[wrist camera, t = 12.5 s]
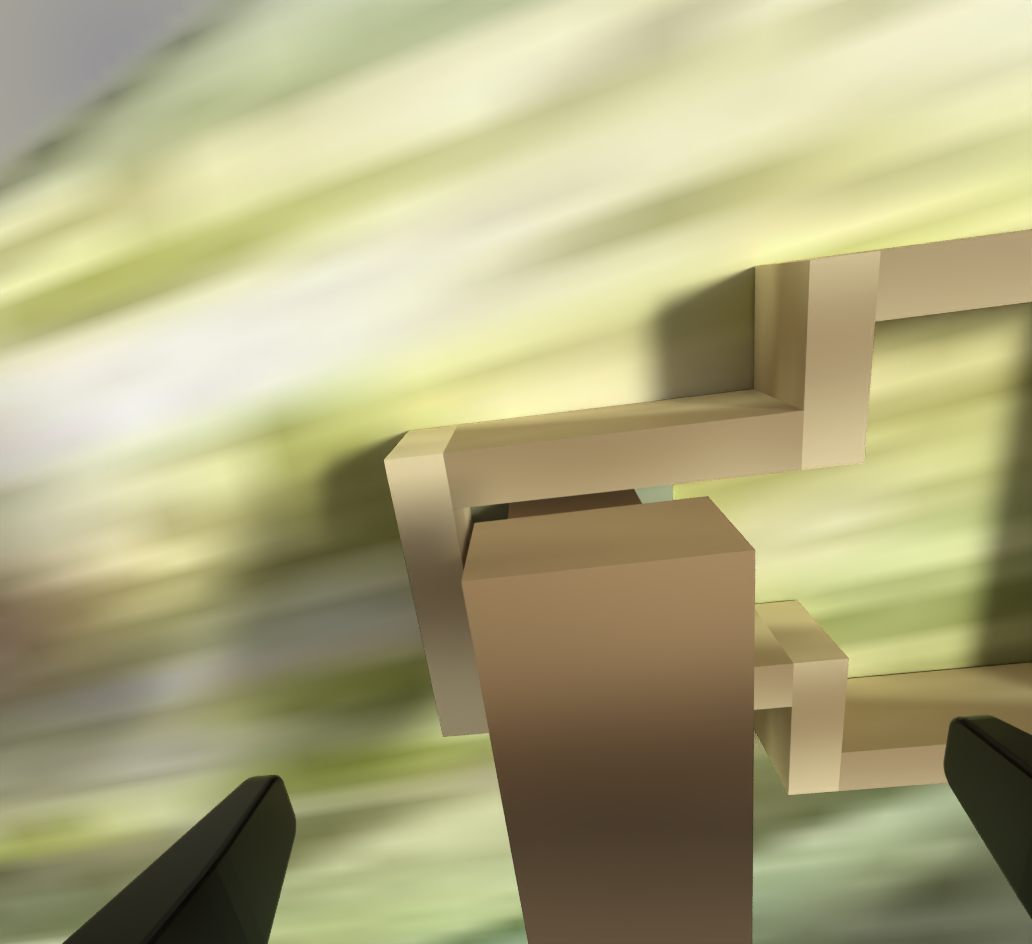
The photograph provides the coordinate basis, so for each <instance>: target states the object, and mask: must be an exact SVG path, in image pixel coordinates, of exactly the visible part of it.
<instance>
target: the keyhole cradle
mask: <svg viewBox="0 0 1032 944" xmlns="http://www.w3.org/2000/svg"><path fill="white" fill-rule="evenodd" d="M1026 302H1032V229H1028V230H1021V231H1013V232H1006V233H998V234H991V235H984V236H976V237H969V238H961V239H954V240H946V241H939V242H931V243H924V244H917V245H909V246H902V247H894V248H887V249H879V250H872V251H864V252H857V253H849V254H842V255H835V256H827V257H820V258H812V259H805V260H797V261H790V262H782V263H775V264H768V265H760V266H755V331H754V389H751V390H743V391H734V392H726V393H718V394H709V395H701V396H693V397H685V398H676V399H668V400H660V401H652V402H643V403H635V404H627V405H619V406H610V407H602V408H594V409H586V410H577V411H569V412H561V413H553V414H544V415H536V416H528V417H520V418H511V419H503V420H495V421H486V422H478V423H470V424H462V425H453V426H445V427H437V428H429V429H420V430H412V431H408V432H407V434H406V435H405V436H404V437H403V438H402V439H401V441H400V442H399V443H398V444H397V445H396V446H395V448H394V449H393V450H392V451H391V452H390V454H389V455H388V456H387V457H386V458H385V459H384V464H385V469H386V473H387V478H388V483H389V487H390V492H391V497H392V501H393V506H394V511H395V515H396V520H397V525H398V529H399V534H400V539H401V543H402V548H403V553H404V557H405V562H406V567H407V571H408V576H409V581H410V585H411V590H412V595H413V599H414V604H415V609H416V613H417V618H418V623H419V627H420V632H421V637H422V641H423V646H424V651H425V655H426V660H427V665H428V669H429V674H430V679H431V683H432V688H433V693H434V697H435V702H436V707H437V711H438V716H439V721H440V725H441V730H442V735H443V737H447V736H459V735H470V734H482V733H489V729H488V724H487V718H486V713H485V707H484V702H483V697H482V691H481V686H480V680H479V675H478V670H477V664H476V659H475V653H474V648H473V643H472V637H471V632H470V626H469V621H468V616H467V610H466V605H465V599H464V594H463V589H462V583H461V580H462V576H463V571H464V567H465V563H466V558H467V554H468V549H469V545H470V541H471V536H472V532H473V528H474V523H478V522H487V521H496V520H505V519H508V510H509V503H511V502H520V501H529V500H538V499H547V498H556V497H565V496H574V495H583V494H592V493H600V492H609V491H618V490H627V489H635V491H636V493H637V495H638V497H639V499H640V501H641V502H642V504H645V503H654V502H662V501H671V500H673V484H681V483H690V482H699V481H708V480H717V479H726V478H735V477H743V476H752V475H761V474H770V473H779V472H788V471H797V470H806V469H815V468H824V467H833V466H842V465H851V464H860V463H864V458H865V445H866V432H867V419H868V406H869V394H870V381H871V368H872V355H873V343H874V330H875V322H876V321H884V320H892V319H899V318H907V317H915V316H923V315H931V314H939V313H947V312H955V311H963V310H971V309H978V308H986V307H994V306H1002V305H1010V304H1018V303H1026ZM848 662H849V658H848V657H847V656H846V655H845V654H844V652H843V651H842V650H841V649H840V648H839V647H838V646H837V644H836V643H835V642H834V641H833V640H832V639H831V638H830V636H829V635H828V634H827V633H826V632H825V631H824V630H823V628H822V627H821V626H820V625H819V624H818V623H817V622H816V620H815V619H814V618H813V617H812V616H811V615H810V614H809V612H808V611H807V610H806V609H805V608H804V607H803V606H802V604H801V603H800V602H799V601H798V600H793V601H783V602H773V603H763V604H755V636H754V729H755V731H756V733H757V735H758V737H759V739H760V741H761V743H762V745H763V747H764V749H765V751H766V752H767V754H768V756H769V758H770V760H771V762H772V764H773V766H774V768H775V770H776V772H777V774H778V776H779V778H780V779H781V781H782V783H783V785H784V787H785V789H786V791H787V793H788V795H792V794H805V793H818V792H831V791H844V790H857V789H870V788H883V787H896V786H909V785H922V784H934V783H947V782H948V781H947V779H946V776H945V773H944V767H943V761H944V755H945V748H946V742H947V735H948V729H949V724H950V722H951V720H952V719H953V718H954V717H957V716H965V715H977V714H987V715H991V716H994V717H996V718H999V719H1001V720H1003V721H1005V722H1007V723H1009V724H1011V725H1013V726H1015V727H1017V728H1019V729H1021V730H1023V731H1025V732H1027V733H1029V734H1031V735H1032V662H1030V663H1019V664H1008V665H997V666H986V667H974V668H963V669H952V670H941V671H930V672H918V673H907V674H896V675H885V676H873V677H862V678H851V679H847V675H848Z"/></svg>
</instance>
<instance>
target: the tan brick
mask: <svg viewBox="0 0 1032 944" xmlns="http://www.w3.org/2000/svg"><path fill="white" fill-rule="evenodd" d="M461 583H462V589H463V594H464V599H465V605H466V610H467V616H468V621H469V626H470V632H471V637H472V643H473V648H474V653H475V659H476V664H477V670H478V675H479V680H480V686H481V691H482V697H483V702H484V707H485V713H486V718H487V724H488V729H489V734H490V740H491V745H492V751H493V756H494V761H495V767H496V772H497V778H498V783H499V788H500V794H501V799H502V805H503V810H504V815H505V821H506V826H507V831H508V837H509V842H510V848H511V853H512V858H513V864H514V869H515V875H516V880H517V885H518V891H519V896H520V902H521V907H522V912H523V918H524V923H525V929H526V934H527V939H528V944H752V896H753V766H754V636H755V549H754V548H753V547H752V546H751V545H750V544H749V542H748V541H747V540H746V539H745V538H744V537H743V536H742V534H741V533H740V532H739V531H738V530H737V529H736V528H735V527H734V525H733V524H732V523H731V522H730V521H729V520H728V519H727V517H726V516H725V515H724V514H723V513H722V512H721V511H720V510H719V508H718V507H717V506H716V505H715V504H714V503H713V502H712V500H711V499H710V498H709V497H708V496H706V497H698V498H689V499H680V500H671V501H662V502H654V503H645V504H642V502H641V501H640V499H639V497H638V495H637V493H636V491H635V489H627V490H618V491H609V492H600V493H592V494H583V495H574V496H565V497H556V498H547V499H538V500H529V501H520V502H511V503H509V510H508V519H505V520H496V521H487V522H478V523H474V528H473V532H472V536H471V541H470V545H469V549H468V554H467V558H466V563H465V567H464V571H463V576H462V580H461Z"/></svg>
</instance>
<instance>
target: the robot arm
mask: <svg viewBox="0 0 1032 944" xmlns="http://www.w3.org/2000/svg"><path fill="white" fill-rule="evenodd" d="M943 767H944V773H945V776H946V779H947V781H948V783H949V785H950V787H951V789H952V791H953V792H954V794H955V795H956V797H957V799H958V800H959V802H960V804H961V805H962V807H963V809H964V810H965V812H966V813H967V815H968V817H969V818H970V820H971V822H972V823H973V825H974V827H975V828H976V830H977V831H978V833H979V835H980V836H981V838H982V840H983V841H984V843H985V845H986V846H987V848H988V850H989V851H990V853H991V854H992V856H993V858H994V859H995V861H996V863H997V864H998V866H999V868H1000V869H1001V871H1002V872H1003V874H1004V876H1005V877H1006V879H1007V881H1008V882H1009V884H1010V886H1011V887H1012V889H1013V890H1014V892H1015V894H1016V895H1017V897H1018V899H1019V900H1020V902H1021V903H1022V905H1023V906H1024V908H1025V909H1026V911H1027V913H1028V914H1029V916H1030V917H1031V919H1032V735H1031V734H1029V733H1027V732H1025V731H1023V730H1021V729H1019V728H1017V727H1015V726H1013V725H1011V724H1009V723H1007V722H1005V721H1003V720H1001V719H999V718H996V717H994V716H991V715H987V714H977V715H965V716H957V717H954V718H953V719H952V720H951V722H950V724H949V729H948V735H947V742H946V748H945V755H944V761H943ZM295 834H296V818H295V814H294V811H293V808H292V805H291V802H290V799H289V796H288V793H287V790H286V788H285V785H284V782H283V780H282V779H281V778H280V777H279V776H278V775H267V776H255V777H251V778H249V779H247V780H245V781H244V782H243V783H242V784H241V785H239V786H238V787H237V788H236V789H235V790H234V791H233V792H232V793H230V794H229V795H228V796H227V797H226V798H225V799H224V800H223V801H221V802H220V803H219V804H218V805H217V806H216V807H215V808H214V809H212V810H211V811H210V812H209V813H208V814H207V815H206V816H205V817H204V818H202V819H201V820H200V821H199V822H198V823H197V824H196V825H195V826H193V827H192V828H191V829H190V830H189V831H188V832H187V833H186V834H184V835H183V836H182V837H181V838H180V839H179V840H178V841H177V842H175V843H174V844H173V845H172V846H171V847H170V848H169V849H168V850H167V851H165V852H164V853H163V854H162V855H161V856H160V857H159V858H158V859H156V860H155V861H154V862H153V863H152V864H151V865H150V866H149V867H147V868H146V869H145V870H144V871H143V872H142V873H141V874H140V875H138V876H137V877H136V878H135V879H134V880H133V881H132V882H131V883H129V884H128V885H127V886H126V887H125V888H124V889H123V890H122V891H121V892H119V893H118V894H117V895H116V896H115V897H114V898H113V899H112V900H110V901H109V902H108V903H107V904H106V905H105V906H104V907H103V908H101V909H100V910H99V911H98V912H97V913H96V914H95V915H94V916H92V917H91V918H90V919H89V920H88V921H87V922H86V923H85V924H84V925H82V926H81V927H80V928H79V929H78V930H77V931H76V932H75V933H73V934H72V935H71V936H70V937H69V938H68V939H67V940H66V941H64V942H63V943H62V944H268V940H269V937H270V933H271V929H272V925H273V921H274V917H275V913H276V909H277V905H278V901H279V898H280V894H281V890H282V886H283V882H284V878H285V874H286V870H287V866H288V862H289V859H290V855H291V851H292V847H293V843H294V839H295Z"/></svg>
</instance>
